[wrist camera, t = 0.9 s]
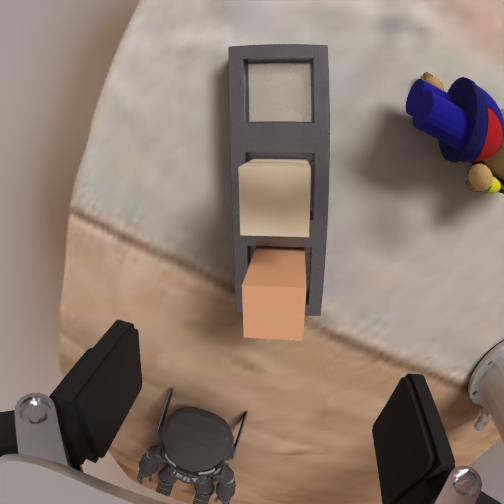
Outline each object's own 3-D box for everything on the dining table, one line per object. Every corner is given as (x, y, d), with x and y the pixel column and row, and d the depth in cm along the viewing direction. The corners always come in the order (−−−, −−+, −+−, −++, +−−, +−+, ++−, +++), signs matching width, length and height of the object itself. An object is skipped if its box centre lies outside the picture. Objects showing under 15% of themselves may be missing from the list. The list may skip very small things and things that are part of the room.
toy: (405, 204, 21) (538, 241, 20) (453, 107, 14) (591, 179, 12) (388, 116, 27) (503, 154, 26) (410, 40, 20) (535, 96, 18)
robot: (138, 493, 45) (122, 435, 31) (153, 454, 54) (152, 376, 40) (220, 519, 45) (258, 478, 30) (230, 478, 54) (269, 412, 39)
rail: (319, 301, 32) (320, 315, 29) (241, 298, 33) (236, 312, 30) (324, 53, 23) (327, 45, 21) (234, 54, 24) (228, 46, 22)
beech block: (305, 209, 28) (308, 237, 20) (255, 208, 28) (240, 235, 21) (306, 158, 26) (310, 167, 19) (254, 158, 27) (238, 167, 19)
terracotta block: (302, 291, 30) (302, 340, 23) (256, 289, 31) (243, 337, 24) (304, 247, 29) (306, 288, 21) (256, 246, 29) (241, 285, 22)
